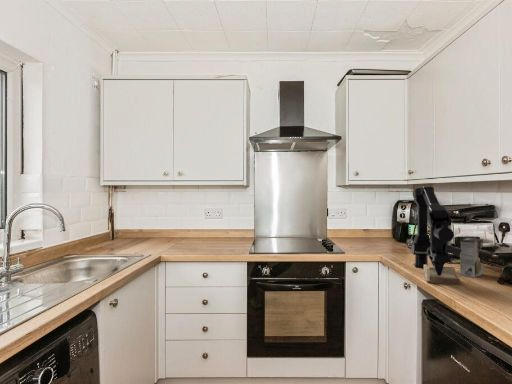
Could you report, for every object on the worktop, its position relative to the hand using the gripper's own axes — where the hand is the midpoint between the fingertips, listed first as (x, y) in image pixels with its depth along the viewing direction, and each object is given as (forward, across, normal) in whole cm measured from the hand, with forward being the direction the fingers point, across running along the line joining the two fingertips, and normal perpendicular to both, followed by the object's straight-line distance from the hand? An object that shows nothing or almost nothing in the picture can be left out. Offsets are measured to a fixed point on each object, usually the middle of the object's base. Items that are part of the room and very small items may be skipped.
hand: (438, 274), depth 146 cm
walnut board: (+3, +4, -2) cm, 6 cm away
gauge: (+2, 0, 0) cm, 2 cm away
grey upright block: (+3, +15, -16) cm, 22 cm away
